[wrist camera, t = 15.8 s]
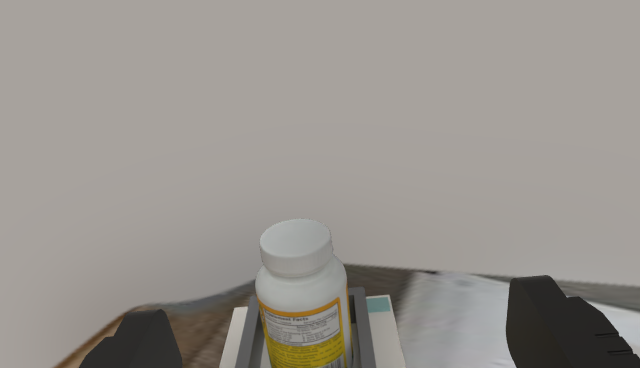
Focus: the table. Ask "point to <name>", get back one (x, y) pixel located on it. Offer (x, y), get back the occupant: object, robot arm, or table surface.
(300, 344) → the supplement bottle
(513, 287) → the robot arm
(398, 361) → the dock
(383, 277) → the table surface
